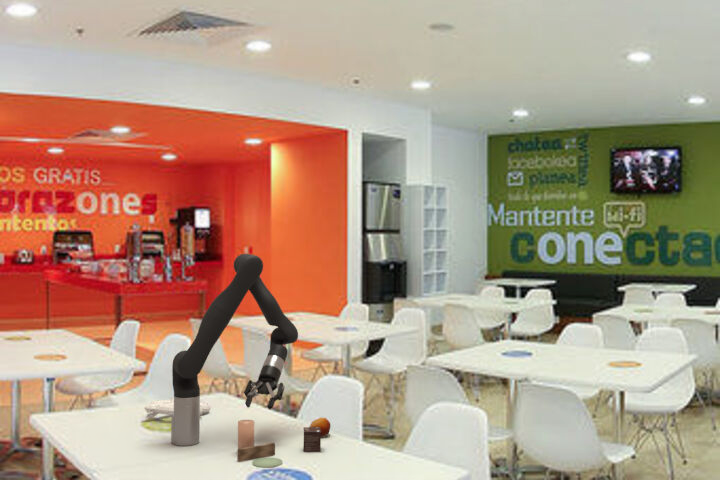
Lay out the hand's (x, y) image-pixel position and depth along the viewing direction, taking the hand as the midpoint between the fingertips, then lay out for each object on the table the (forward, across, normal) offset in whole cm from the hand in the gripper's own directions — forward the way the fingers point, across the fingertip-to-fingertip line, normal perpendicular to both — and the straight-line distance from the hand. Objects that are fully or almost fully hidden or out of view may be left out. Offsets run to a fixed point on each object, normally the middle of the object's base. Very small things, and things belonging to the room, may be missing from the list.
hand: (258, 407), depth 280 cm
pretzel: (-11, -51, +31) cm, 61 cm away
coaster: (+22, +12, -3) cm, 25 cm away
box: (+8, +20, +12) cm, 25 cm away
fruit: (-4, +16, +24) cm, 30 cm away
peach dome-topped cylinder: (+17, 0, +3) cm, 17 cm away
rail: (+19, +6, 0) cm, 20 cm away
